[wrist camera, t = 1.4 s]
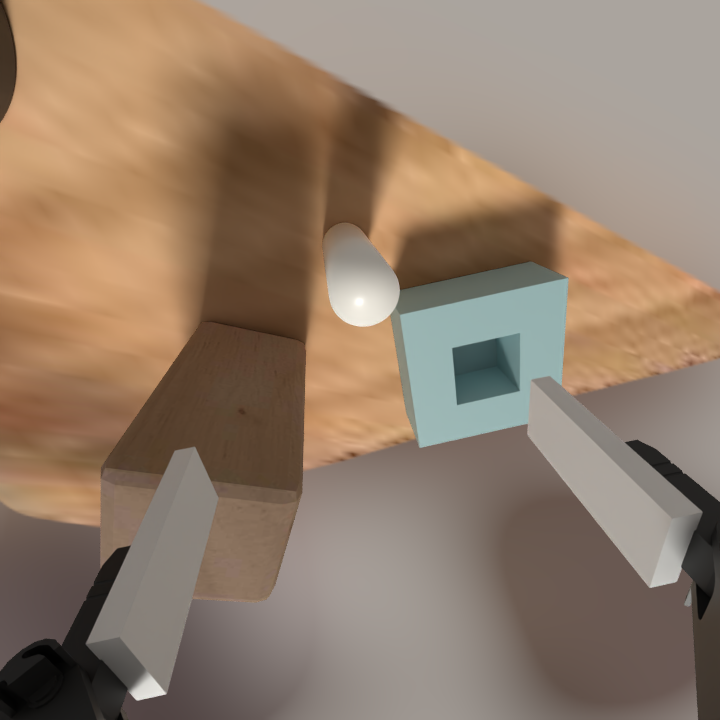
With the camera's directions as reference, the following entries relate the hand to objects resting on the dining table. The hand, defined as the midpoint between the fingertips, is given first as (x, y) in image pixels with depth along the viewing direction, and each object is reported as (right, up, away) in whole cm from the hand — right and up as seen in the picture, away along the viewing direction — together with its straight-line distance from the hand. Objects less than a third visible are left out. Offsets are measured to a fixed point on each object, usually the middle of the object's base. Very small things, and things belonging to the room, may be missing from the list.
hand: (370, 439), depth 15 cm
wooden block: (-12, +2, +24) cm, 26 cm away
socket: (+10, +5, +25) cm, 27 cm away
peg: (-2, +13, +19) cm, 23 cm away
